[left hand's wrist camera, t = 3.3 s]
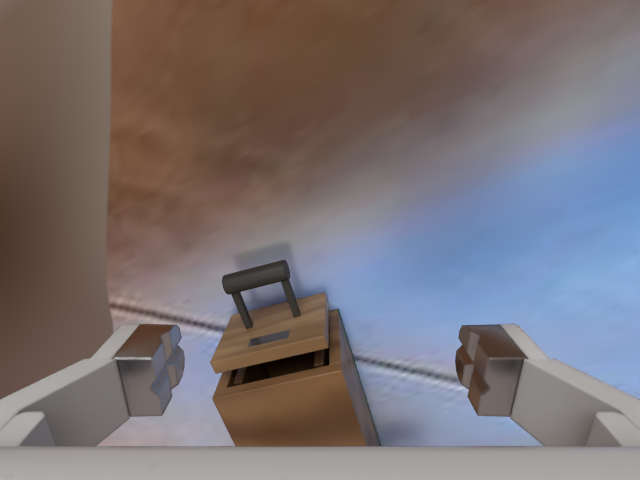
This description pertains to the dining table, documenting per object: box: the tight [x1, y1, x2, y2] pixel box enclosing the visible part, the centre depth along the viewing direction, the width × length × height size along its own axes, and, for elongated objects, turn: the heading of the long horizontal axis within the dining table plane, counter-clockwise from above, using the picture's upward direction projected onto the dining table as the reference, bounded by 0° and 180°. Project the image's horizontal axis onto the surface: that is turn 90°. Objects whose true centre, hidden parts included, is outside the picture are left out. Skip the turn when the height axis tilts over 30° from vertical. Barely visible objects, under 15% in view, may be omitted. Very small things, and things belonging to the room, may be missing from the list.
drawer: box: [210, 260, 329, 386], centre depth 34 cm, size 24×10×7 cm, turn 16°
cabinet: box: [213, 309, 381, 446], centre depth 36 cm, size 20×11×9 cm, turn 16°
